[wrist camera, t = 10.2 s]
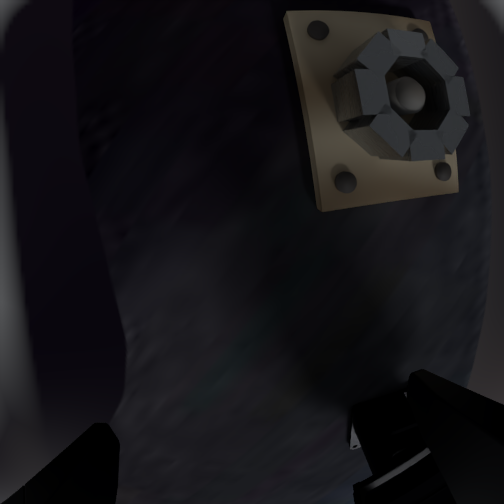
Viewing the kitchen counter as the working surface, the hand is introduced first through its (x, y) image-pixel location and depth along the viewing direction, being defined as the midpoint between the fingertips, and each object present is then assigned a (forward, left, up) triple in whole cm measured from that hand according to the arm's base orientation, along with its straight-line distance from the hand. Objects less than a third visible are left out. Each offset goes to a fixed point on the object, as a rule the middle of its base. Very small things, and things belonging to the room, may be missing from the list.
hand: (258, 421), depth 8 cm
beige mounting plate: (+9, -10, -12) cm, 18 cm away
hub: (+9, -10, -11) cm, 17 cm away
